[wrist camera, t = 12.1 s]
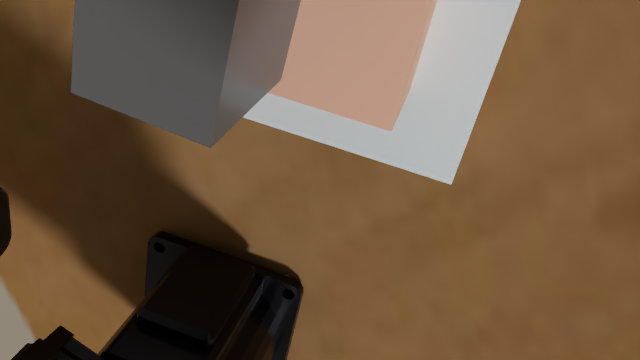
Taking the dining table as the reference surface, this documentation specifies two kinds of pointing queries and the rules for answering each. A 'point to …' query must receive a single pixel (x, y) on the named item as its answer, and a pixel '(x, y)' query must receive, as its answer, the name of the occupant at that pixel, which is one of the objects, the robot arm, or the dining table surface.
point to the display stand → (390, 78)
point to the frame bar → (181, 59)
